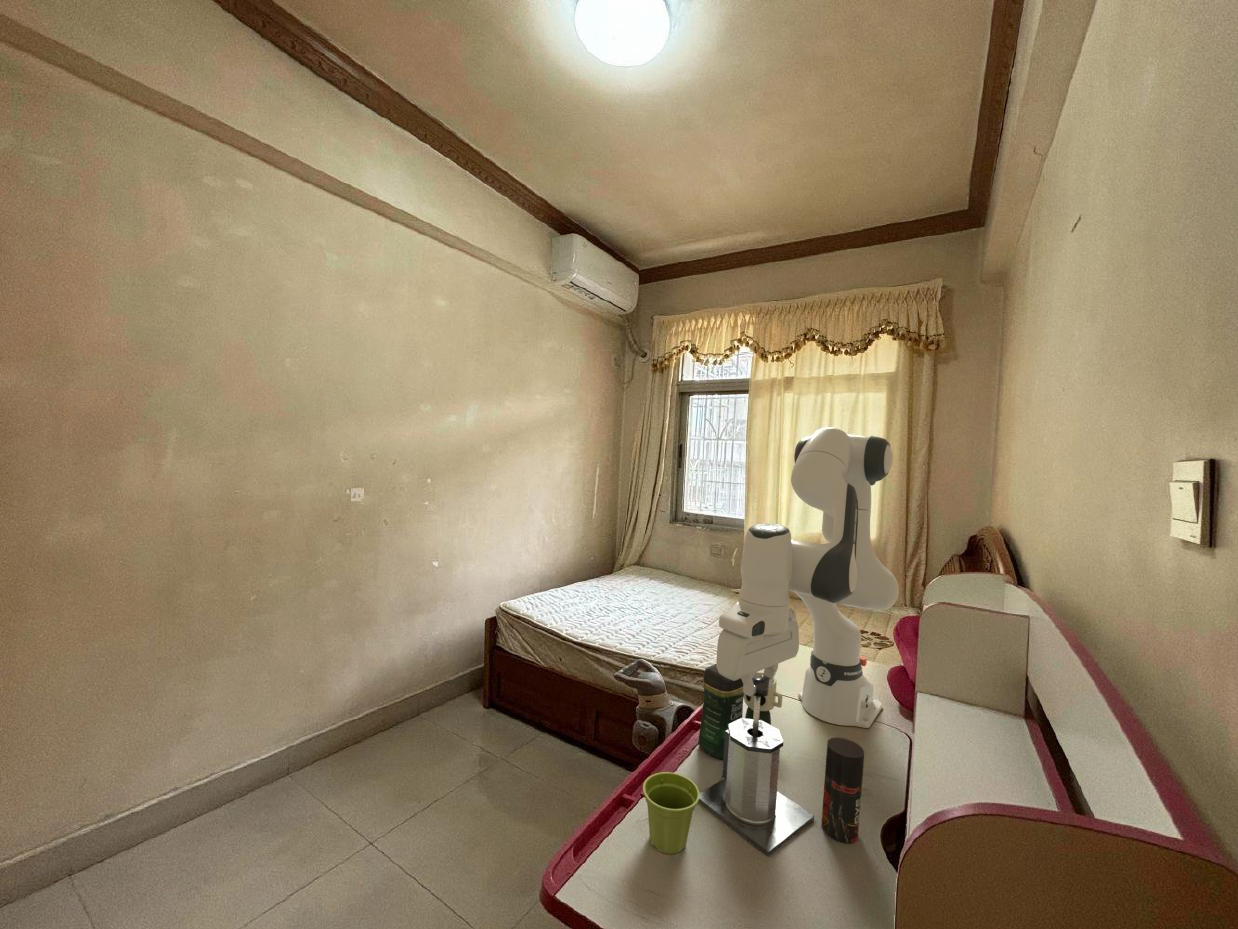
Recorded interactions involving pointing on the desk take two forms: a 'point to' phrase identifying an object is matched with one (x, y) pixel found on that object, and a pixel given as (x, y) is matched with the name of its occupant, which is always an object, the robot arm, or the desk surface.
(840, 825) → the deodorant
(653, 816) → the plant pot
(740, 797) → the silver octagonal canister
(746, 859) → the desk surface
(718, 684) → the coffee jar
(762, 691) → the domed grey knob
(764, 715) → the character mug
